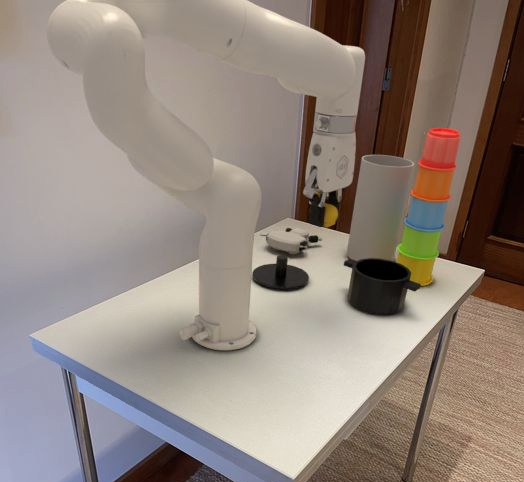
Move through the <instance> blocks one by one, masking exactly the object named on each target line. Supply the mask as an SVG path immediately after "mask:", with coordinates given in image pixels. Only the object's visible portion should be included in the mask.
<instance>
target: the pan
mask: <svg viewBox="0 0 524 482" xmlns="http://www.w3.org/2000/svg"><path fill="white" fill-rule="evenodd" d="M343 266H344V267H347V268H350V269H351V274H350V279H349V286H348V292H347V302H348V304H349V305H350V306H351V307H352V308H354V309H356V310H357V311H359V312H362V313H365V314H368V315H374V316H381V317H382V316H383V317H385V316H393V315H397V314H399V313H401V312H403V309H404V308H405V307H404V306H405V302H406V298H407V293H408V290H409V291H411V292H414V293H415V292H417V291H418V290H420V289H421V287H422V286H421V284H419V283H416V282H413V281H411V280H410V277H411V272H410V270H409V269H408V268H407V267H405V266H404V265H402V264H400V263H397V261H395V260H393V261H391V260H386V259H380V258H367V259H360V260H358V261H355V260H352V259H350V258H348V259H346V260H344V261H343Z"/></svg>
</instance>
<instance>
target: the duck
mask: <svg viewBox="0 0 524 482" xmlns="http://www.w3.org/2000/svg"><path fill="white" fill-rule="evenodd" d="M316 194H318V196H319V198H320V194H321V193H319V192H317V193H316ZM324 207H326V209H325V217H324V225H323V227H322V228H329V227H331V226H333V225H336V222H337V221H338V217H339V210H338V211H337V209H336V207H335V206H333V205H331V204H327V203H324ZM336 220H337V221H336ZM335 221H336V222H335Z"/></svg>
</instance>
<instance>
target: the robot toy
mask: <svg viewBox="0 0 524 482" xmlns="http://www.w3.org/2000/svg"><path fill="white" fill-rule="evenodd" d="M259 235H260V236H261V237H265V241H266V244H267V245H268V246H269V247H271V248H273V249H274V250H277V251H283V252H287V253H289V254H290V255H296V254H298V253H300V252H303V251H304V250H306V249H308V243H310V244H315V243H319V242H321V241H323V237H320V236H318V235H315V234H314V235H310V232H309V230H307V229H304V228H300V227H294V228H291V227H286V229H285V231H284V230H273V231H270V232H268V233H267V234H262V233H261V234H259Z"/></svg>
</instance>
